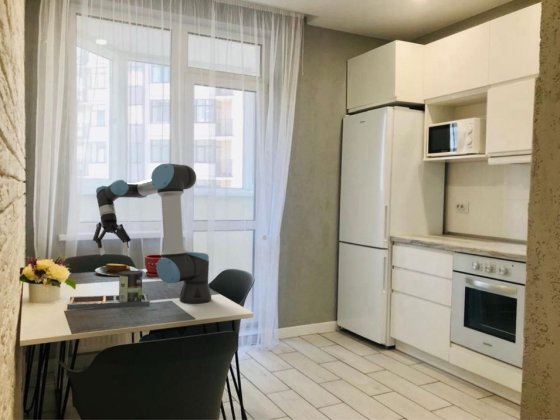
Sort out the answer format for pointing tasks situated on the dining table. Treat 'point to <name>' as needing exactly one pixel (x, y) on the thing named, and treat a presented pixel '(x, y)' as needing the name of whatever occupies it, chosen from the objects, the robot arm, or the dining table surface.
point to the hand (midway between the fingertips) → (115, 254)
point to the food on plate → (114, 269)
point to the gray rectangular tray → (102, 302)
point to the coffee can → (130, 286)
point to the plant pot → (149, 267)
